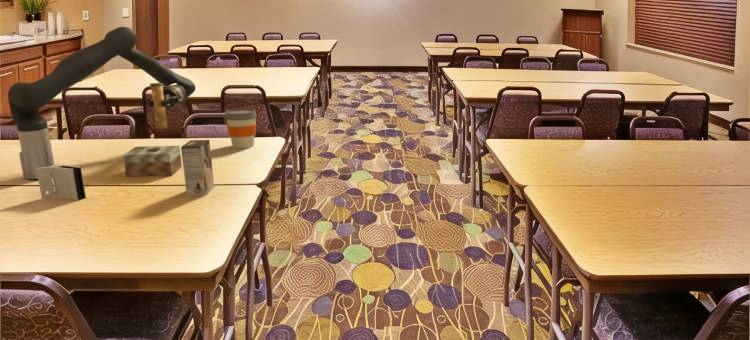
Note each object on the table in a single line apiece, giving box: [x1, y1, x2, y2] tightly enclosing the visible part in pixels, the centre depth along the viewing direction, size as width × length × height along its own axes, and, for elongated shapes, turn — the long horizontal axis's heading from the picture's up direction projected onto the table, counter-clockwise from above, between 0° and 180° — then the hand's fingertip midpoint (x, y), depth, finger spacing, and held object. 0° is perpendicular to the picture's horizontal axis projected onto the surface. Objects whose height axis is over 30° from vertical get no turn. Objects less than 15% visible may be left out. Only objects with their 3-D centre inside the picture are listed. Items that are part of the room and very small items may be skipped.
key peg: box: [149, 82, 168, 130], centre depth 216 cm, size 4×4×17 cm
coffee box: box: [180, 139, 215, 197], centre depth 184 cm, size 9×6×16 cm
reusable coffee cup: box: [225, 108, 257, 149], centre depth 244 cm, size 13×13×15 cm
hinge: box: [36, 164, 87, 201], centre depth 182 cm, size 14×5×10 cm, turn 81°
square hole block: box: [122, 145, 183, 178], centre depth 209 cm, size 16×12×8 cm
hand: (156, 104), depth 213 cm, fingers closed on key peg, 4 cm apart
